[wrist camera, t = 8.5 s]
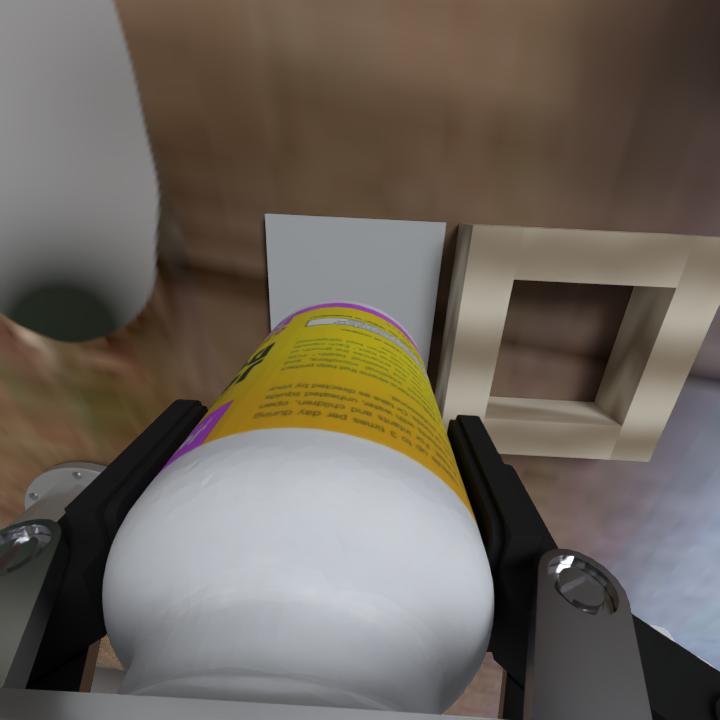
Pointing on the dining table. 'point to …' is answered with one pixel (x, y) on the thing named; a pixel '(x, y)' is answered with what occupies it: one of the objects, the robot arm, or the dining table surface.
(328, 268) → the grey mat
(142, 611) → the supplement bottle
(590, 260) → the cup holder
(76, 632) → the robot arm
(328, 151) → the dining table surface
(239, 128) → the dining table surface
